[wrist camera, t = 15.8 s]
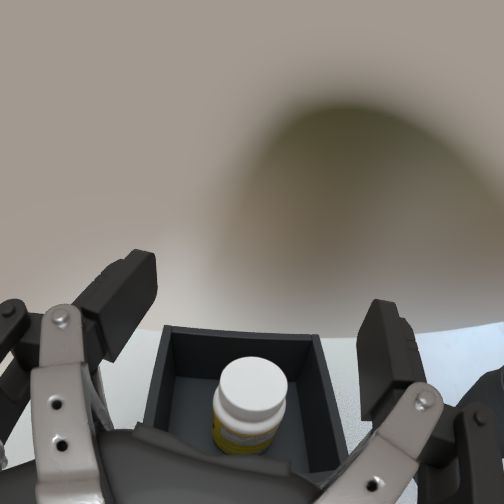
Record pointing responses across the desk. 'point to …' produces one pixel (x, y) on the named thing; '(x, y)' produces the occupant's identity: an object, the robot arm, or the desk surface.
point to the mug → (493, 396)
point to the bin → (208, 378)
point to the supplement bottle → (248, 406)
